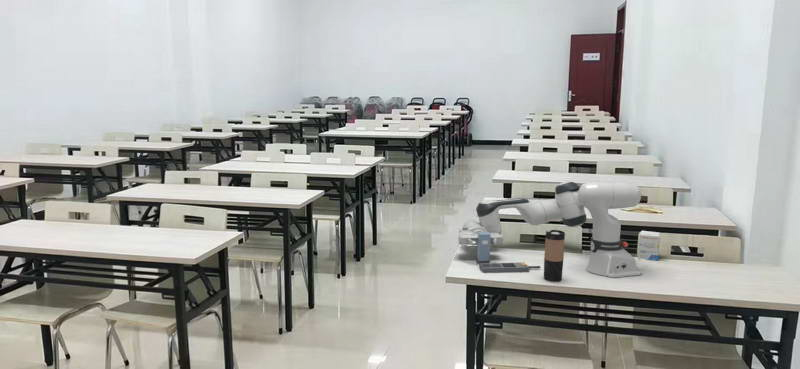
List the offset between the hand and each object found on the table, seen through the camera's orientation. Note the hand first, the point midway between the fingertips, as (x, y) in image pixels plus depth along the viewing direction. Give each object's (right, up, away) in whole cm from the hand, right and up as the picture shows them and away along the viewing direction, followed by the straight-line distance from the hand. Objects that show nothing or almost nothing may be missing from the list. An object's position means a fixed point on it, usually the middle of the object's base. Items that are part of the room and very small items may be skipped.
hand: (484, 243), depth 260 cm
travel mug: (+26, -13, -17) cm, 33 cm away
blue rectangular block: (0, -9, +3) cm, 10 cm away
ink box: (+79, -8, +15) cm, 81 cm away
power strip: (+11, -11, -5) cm, 16 cm away
